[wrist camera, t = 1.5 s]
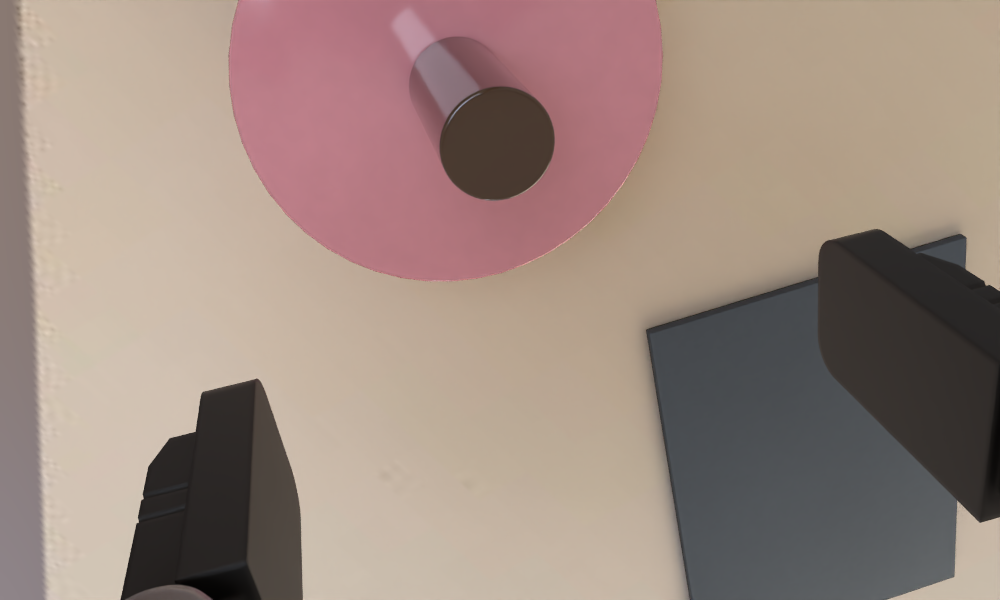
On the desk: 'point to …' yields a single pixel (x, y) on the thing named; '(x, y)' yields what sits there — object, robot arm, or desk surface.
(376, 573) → the desk surface
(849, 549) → the mat
